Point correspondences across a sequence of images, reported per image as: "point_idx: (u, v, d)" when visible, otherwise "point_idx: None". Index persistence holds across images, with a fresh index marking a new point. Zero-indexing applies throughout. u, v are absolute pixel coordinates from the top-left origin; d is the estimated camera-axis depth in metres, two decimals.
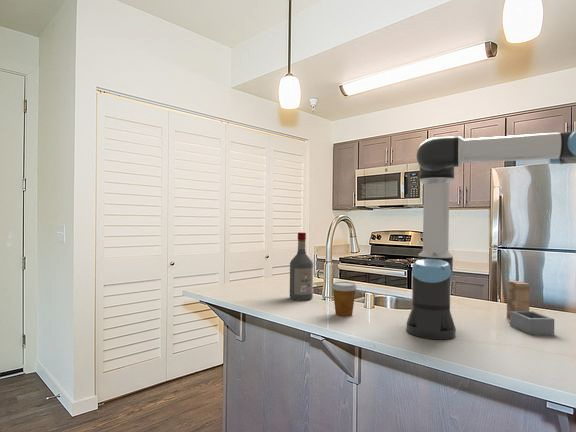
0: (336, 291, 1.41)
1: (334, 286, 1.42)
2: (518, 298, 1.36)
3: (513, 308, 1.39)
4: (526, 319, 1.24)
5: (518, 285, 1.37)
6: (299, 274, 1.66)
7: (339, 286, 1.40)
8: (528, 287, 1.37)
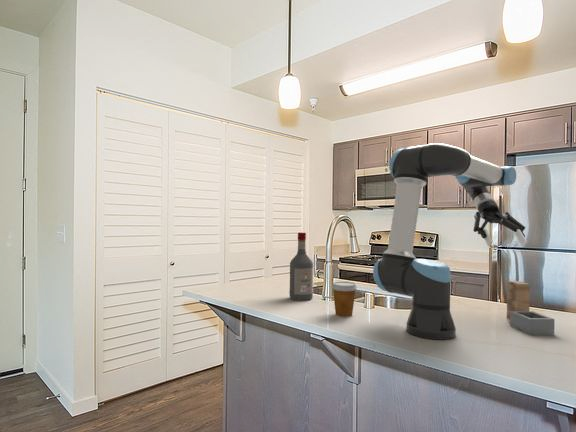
0: (336, 291, 1.41)
1: (334, 286, 1.42)
2: (518, 298, 1.36)
3: (513, 308, 1.39)
4: (526, 319, 1.24)
5: (518, 285, 1.37)
6: (299, 274, 1.66)
7: (339, 286, 1.40)
8: (528, 287, 1.37)
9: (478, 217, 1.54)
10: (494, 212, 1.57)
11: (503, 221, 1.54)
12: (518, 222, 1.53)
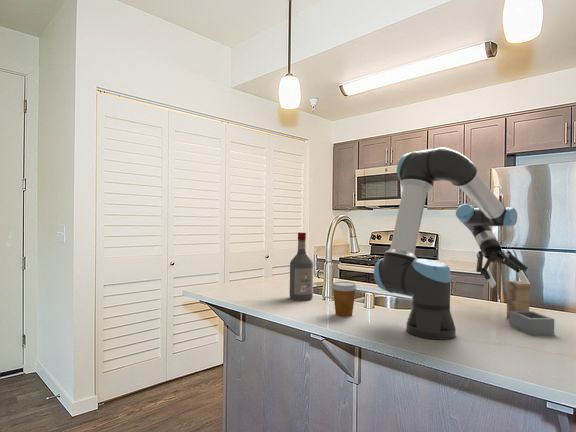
0: (336, 291, 1.41)
1: (334, 286, 1.42)
2: (518, 298, 1.36)
3: (513, 308, 1.39)
4: (526, 319, 1.24)
5: (518, 285, 1.37)
6: (299, 274, 1.66)
7: (339, 286, 1.40)
8: (528, 287, 1.37)
9: (481, 257, 1.53)
10: (496, 251, 1.56)
11: (505, 261, 1.53)
12: (520, 262, 1.52)
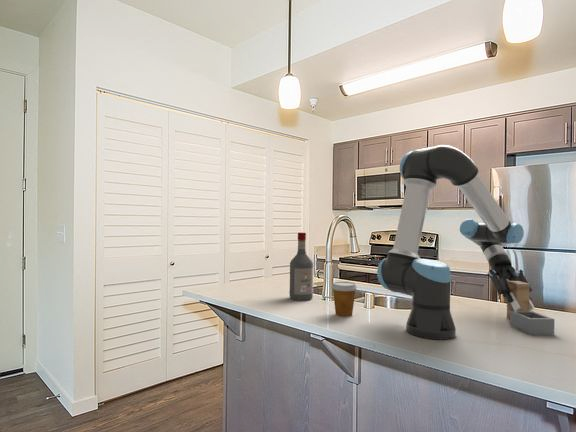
0: (336, 291, 1.41)
1: (334, 286, 1.42)
2: (518, 297, 1.36)
3: None
4: (526, 319, 1.24)
5: (518, 285, 1.37)
6: (299, 274, 1.66)
7: (339, 286, 1.40)
8: (528, 287, 1.37)
9: (495, 276, 1.44)
10: (507, 265, 1.49)
11: (512, 278, 1.45)
12: None
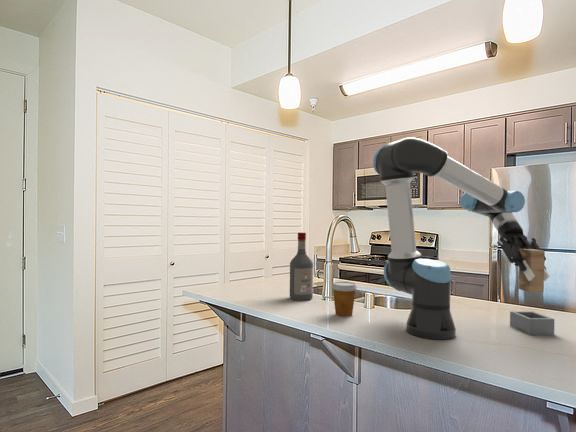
0: (336, 291, 1.41)
1: (334, 286, 1.42)
2: (532, 265, 1.25)
3: None
4: (526, 319, 1.24)
5: (532, 252, 1.25)
6: (299, 274, 1.66)
7: (339, 286, 1.40)
8: (543, 254, 1.26)
9: (506, 244, 1.33)
10: (518, 233, 1.37)
11: (525, 247, 1.34)
12: None
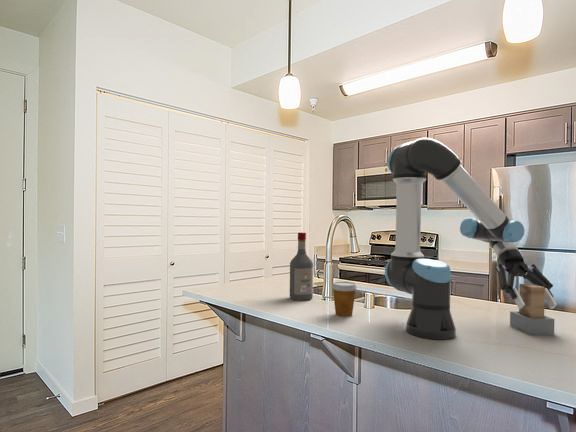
0: (336, 291, 1.41)
1: (334, 286, 1.42)
2: (532, 302, 1.24)
3: (526, 313, 1.27)
4: (526, 319, 1.24)
5: (532, 289, 1.24)
6: (299, 274, 1.66)
7: (339, 286, 1.40)
8: (543, 291, 1.25)
9: (502, 271, 1.33)
10: (518, 262, 1.36)
11: (528, 275, 1.33)
12: (545, 278, 1.32)
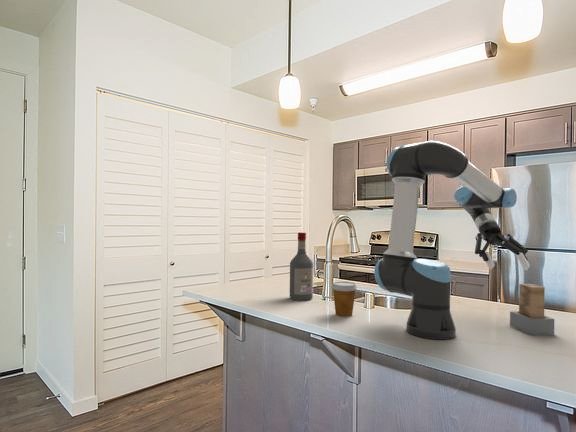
0: (336, 291, 1.41)
1: (334, 286, 1.42)
2: (532, 302, 1.24)
3: (526, 313, 1.27)
4: (526, 319, 1.24)
5: (532, 289, 1.24)
6: (299, 274, 1.66)
7: (339, 286, 1.40)
8: (543, 291, 1.25)
9: (479, 239, 1.49)
10: (496, 234, 1.52)
11: (505, 243, 1.49)
12: (520, 245, 1.48)
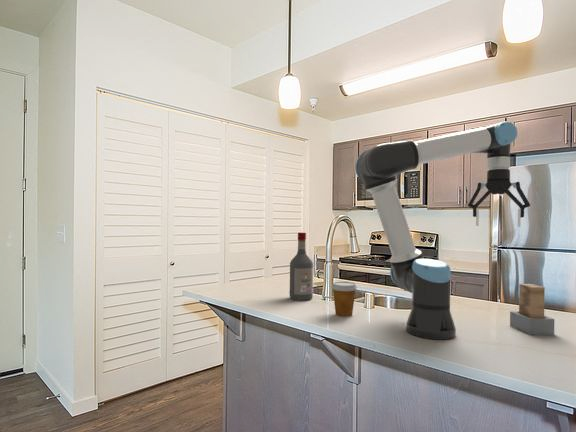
0: (336, 291, 1.41)
1: (334, 286, 1.42)
2: (532, 302, 1.24)
3: (526, 313, 1.27)
4: (526, 319, 1.24)
5: (532, 289, 1.24)
6: (299, 274, 1.66)
7: (339, 286, 1.40)
8: (543, 291, 1.25)
9: (477, 191, 1.43)
10: (501, 182, 1.39)
11: (507, 194, 1.39)
12: (525, 197, 1.36)
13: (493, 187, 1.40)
